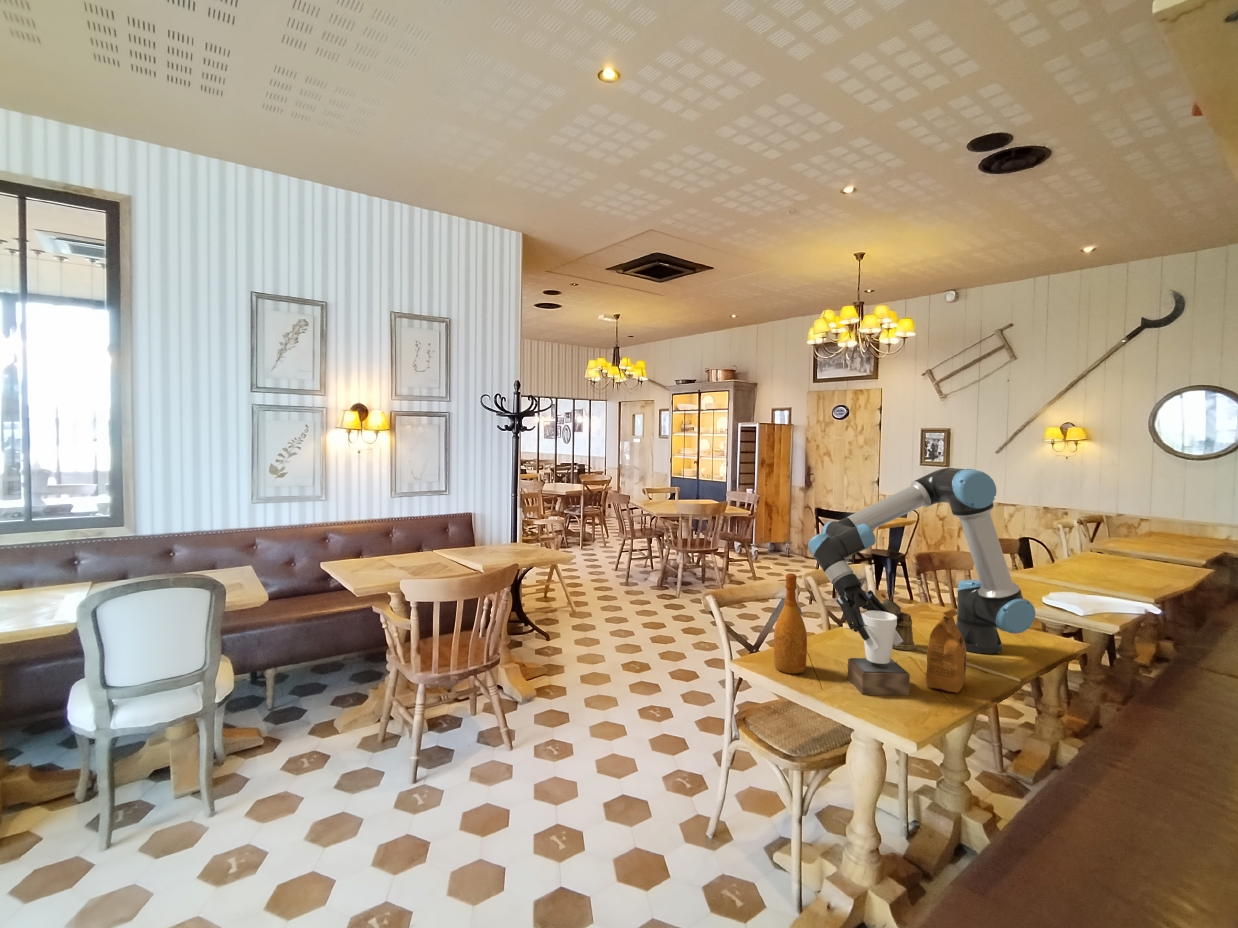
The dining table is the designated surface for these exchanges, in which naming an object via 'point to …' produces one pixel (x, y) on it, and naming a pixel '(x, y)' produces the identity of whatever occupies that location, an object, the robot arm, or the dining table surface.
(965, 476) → the robot arm
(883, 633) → the foam cup
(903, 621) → the wooden mug
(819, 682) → the dining table surface
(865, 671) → the walnut stand
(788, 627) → the wine bottle
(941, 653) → the coffee package
